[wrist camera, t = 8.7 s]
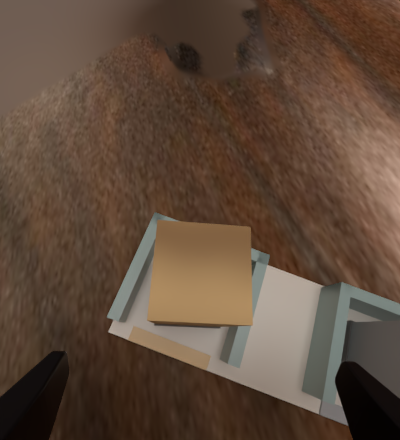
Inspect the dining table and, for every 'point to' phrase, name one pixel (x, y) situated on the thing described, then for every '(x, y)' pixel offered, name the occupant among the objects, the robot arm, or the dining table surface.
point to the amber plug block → (201, 276)
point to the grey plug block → (375, 350)
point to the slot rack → (259, 331)
